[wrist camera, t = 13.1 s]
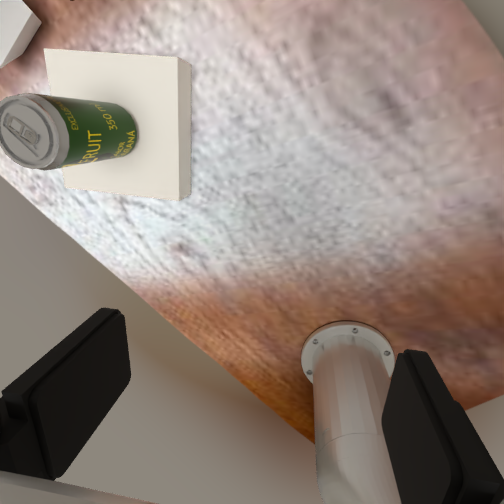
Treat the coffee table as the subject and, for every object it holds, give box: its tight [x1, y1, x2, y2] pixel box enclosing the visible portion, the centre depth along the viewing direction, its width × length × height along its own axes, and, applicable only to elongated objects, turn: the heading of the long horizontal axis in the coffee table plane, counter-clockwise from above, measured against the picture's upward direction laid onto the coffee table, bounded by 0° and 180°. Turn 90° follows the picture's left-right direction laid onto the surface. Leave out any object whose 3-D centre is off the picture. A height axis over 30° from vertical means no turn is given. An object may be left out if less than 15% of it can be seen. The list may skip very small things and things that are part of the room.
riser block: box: [44, 49, 191, 201], centre depth 35 cm, size 14×14×4 cm
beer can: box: [0, 93, 138, 170], centre depth 28 cm, size 5×5×12 cm
